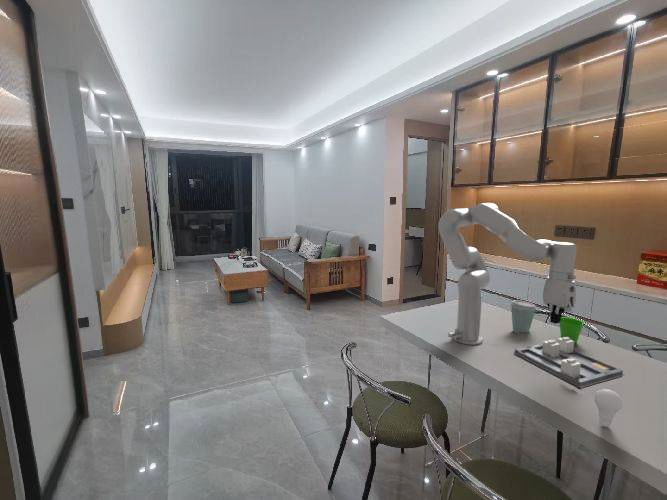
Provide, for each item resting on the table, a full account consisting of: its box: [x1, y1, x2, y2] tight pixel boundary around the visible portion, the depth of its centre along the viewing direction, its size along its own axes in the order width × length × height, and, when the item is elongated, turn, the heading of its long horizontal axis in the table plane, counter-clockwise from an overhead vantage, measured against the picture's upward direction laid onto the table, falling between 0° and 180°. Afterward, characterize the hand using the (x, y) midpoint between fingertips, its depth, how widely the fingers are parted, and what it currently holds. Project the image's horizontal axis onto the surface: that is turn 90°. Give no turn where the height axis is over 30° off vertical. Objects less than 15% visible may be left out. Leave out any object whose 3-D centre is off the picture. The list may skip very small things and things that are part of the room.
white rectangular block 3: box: [556, 337, 575, 354], centre depth 136 cm, size 4×4×6 cm
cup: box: [559, 316, 585, 345], centre depth 145 cm, size 9×9×11 cm
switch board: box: [513, 343, 624, 390], centre depth 128 cm, size 22×26×2 cm
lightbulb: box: [593, 388, 623, 428], centre depth 94 cm, size 6×6×11 cm
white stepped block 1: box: [542, 339, 560, 357], centre depth 133 cm, size 4×4×6 cm
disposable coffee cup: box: [510, 299, 537, 335], centre depth 158 cm, size 11×11×15 cm
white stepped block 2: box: [560, 358, 581, 378], centre depth 118 cm, size 4×4×6 cm
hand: (555, 322), depth 127 cm, fingers closed
